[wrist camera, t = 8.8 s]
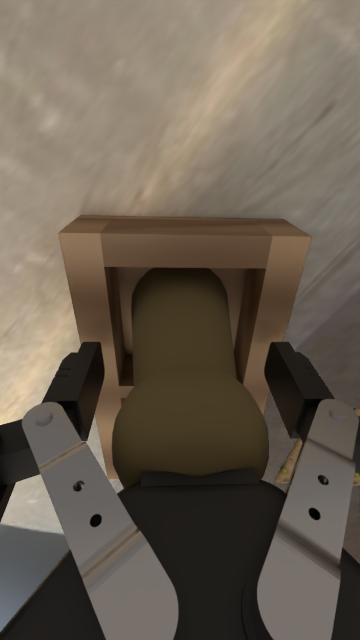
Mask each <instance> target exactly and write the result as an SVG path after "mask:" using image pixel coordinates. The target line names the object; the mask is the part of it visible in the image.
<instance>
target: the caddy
mask: <svg viewBox="0 0 360 640" xmlns="http://www.w3.org/2000/svg"><path fill="white" fill-rule="evenodd" d="M58 235H59V239H60V244H61V249H62V254H63V259H64V264H65V269H66V274H67V279H68V284H69V289H70V294H71V299H72V304H73V309H74V313H75V318H76V323H77V328H78V333H79V338H80V343H81V344H82V343H83V342H100V343H101V347H102V354H103V360H104V367H105V376H104V381H103V385H102V389H101V392H100V396H99V400H98V403H97V407H96V411H95V417H96V422H97V427H98V432H99V437H100V442H101V447H102V452H103V457H104V461H105V466H106V471H107V476H108V479H119V477H118V475H117V473H116V471H115V469H114V466H113V461H112V432H113V427H114V423H115V418H116V416H117V414H118V412H119V410H120V408H121V406H122V405H123V403H124V401H125V399H126V398H127V396H128V394H129V392H130V390H132V389H133V388H134V375H133V347H132V319H131V302H132V293H133V291H134V289H135V287H136V285H137V282H138V281H139V280H140V279H141V278H142V277H143V276H144V275H145V274H146V273H147V272H148V271H149V270H150V269H152V268H154V267H167V268H209V269H211V270H212V271H213V272H214V273H215V274H216V275H217V276H218V277H219V278H220V279H221V281H222V283H223V285H224V287H225V289H226V291H227V297H228V306H229V315H230V324H231V332H232V341H233V350H234V359H235V368H236V377H237V380H238V381H239V382H240V383H241V384H243V385H244V386H245V387H246V388H247V389H248V391H249V392H250V393H251V395H252V396H253V398H254V399H255V401H256V403H257V405H258V406H259V408H260V410H261V412H262V414H264V410H265V406H266V403H267V399H268V395H269V392H270V389H269V386H268V384H267V382H266V379H265V375H264V367H265V362H266V358H267V354H268V350H269V346H270V343H271V342H283V340H284V337H285V333H286V329H287V326H288V322H289V318H290V315H291V311H292V307H293V304H294V300H295V296H296V293H297V289H298V285H299V282H300V278H301V274H302V271H303V267H304V263H305V260H306V256H307V252H308V249H309V245H310V241H311V236H310V235H308V234H306V233H305V232H303V231H302V230H300V229H298V228H297V227H295V226H294V225H292V224H290V223H289V222H287V221H286V220H284V219H238V218H183V217H129V216H79V217H78V218H77V219H75V220H74V221H73V222H71V223H70V224H69V225H68V226H66V227H65V228H64V229H62V230H61V231H60V232H59V233H58Z"/></svg>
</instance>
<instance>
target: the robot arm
mask: <svg viewBox="0 0 360 640" xmlns="http://www.w3.org/2000/svg"><path fill="white" fill-rule="evenodd" d="M264 375H265V379H266V382H267V384H268V386H269V389H270V391H271V393H272V396H273V398H274V401H275V403H276V405H277V408H278V410H279V412H280V415H281V417H282V420H283V422H284V424H285V427H286V429H287V431H288V434H289V436H290V438H301V441H302V443H303V444H302V446H301V449H300V451H299V454H298V457H297V460H296V462H295V465H294V468H293V471H292V473H291V476H290V479H289V482H288V484H287V487H286V489H285V492H284V491H282V490H281V489H279V488H278V487H276V486H274V485H272V484H270V483H268V482H266V481H263V480H260V479H258V478H257V474H256V471H255V469H251V470H226V471H223V472H220V473H216V474H213V475H210V476H206V477H203V478H195V477H191V476H187V475H183V474H179V473H175V472H166V471H163V472H142V473H141V481H140V482H137V483H134V484H132V485H130V486H128V487H126V488H124V489H123V490H121V491H120V492H119V493H117V494H116V492H115V490H114V488H113V487H112V485H111V483H110V482H109V480H108V478H107V477H106V475H105V473H104V471H103V470H102V468H101V466H100V465H99V463H98V461H97V460H96V458H95V456H94V455H93V453H92V451H91V449H90V448H89V446H88V445H87V443H86V442H82V441H87V440H88V436H89V432H90V429H91V425H92V421H93V418H94V414H95V411H96V407H97V403H98V400H99V396H100V392H101V389H102V385H103V381H104V376H105V367H104V360H103V354H102V347H101V343H100V342H83V343H82V344H81V347H80V349H79V351H78V353H70V354H69V355H68V356H67V357H66V358H64V359H63V360H62V363H61V365H60V367H59V370H58V371H57V373H56V375H55V377H54V379H53V381H52V383H51V385H50V387H49V389H48V391H47V393H46V395H45V397H44V399H43V401H42V403H41V404H39V405H37V406H35V407H33V408H32V409H30V410H29V411H28V412H27V413H26V414H25V416H24V418H23V419H21V420H18V421H14V422H11V423H7V424H3V425H0V522H1V519H2V517H3V514H4V512H5V509H6V506H7V504H8V501H9V499H10V496H11V494H12V491H13V489H14V486H15V484H16V482H18V481H21V480H24V479H27V478H30V477H33V476H36V475H39V474H41V476H42V479H43V481H44V484H45V486H46V489H47V491H48V494H49V496H50V499H51V501H52V504H53V506H54V509H55V511H56V514H57V516H58V519H59V521H60V524H61V526H62V529H63V531H64V534H65V536H66V539H67V542H68V544H69V547H70V549H69V550H68V551H67V552H66V554H65V555H64V556H63V557H62V558H61V560H60V561H59V562H58V563H57V564H56V566H55V567H54V568H53V569H52V570H51V572H50V573H49V574H48V575H47V576H46V578H45V579H44V580H43V581H42V583H41V584H40V585H39V586H38V587H37V589H36V590H35V591H34V592H33V593H32V595H31V596H30V597H29V598H28V599H27V601H26V602H25V603H24V604H23V605H22V607H21V608H20V609H19V611H18V612H17V613H16V614H15V615H14V617H13V618H12V619H11V620H10V621H9V622H8V624H7V625H6V626H5V627H4V628H3V630H2V631H1V632H0V640H360V564H359V563H358V562H357V561H356V560H355V559H354V558H353V557H352V556H351V555H350V554H349V553H348V552H347V551H346V550H345V549H344V548H343V547H342V546H343V540H344V534H345V528H346V522H347V515H348V509H349V503H350V497H351V491H352V485H353V479H354V473H359V475H360V416H358V415H357V414H356V412H355V411H354V410H353V409H352V408H351V407H350V406H349V405H347V404H345V403H343V402H341V401H339V400H335V398H334V397H333V395H332V394H331V392H330V391H329V389H328V388H327V386H326V385H325V383H324V382H323V380H322V379H321V377H320V376H319V375H318V373H317V371H316V370H315V369H314V367H313V365H312V364H311V362H310V361H309V359H308V358H306V357H305V356H304V355H302V354H301V353H300V352H295V351H294V349H293V348H292V346H291V345H290V343H289V342H271V343H270V346H269V350H268V354H267V358H266V362H265V367H264Z"/></svg>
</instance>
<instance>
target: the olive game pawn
mask: <svg viewBox="0 0 360 640" xmlns="http://www.w3.org/2000/svg"><path fill="white" fill-rule="evenodd" d="M131 319H132V347H133V375H134V388H133V389H132V390H130V392H129V394H128V396H127V398H126V399H125V401H124V403H123V405H122V406H121V408H120V410H119V412H118V414H117V416H116V418H115V423H114V427H113V432H112V461H113V466H114V469H115V471H116V473H117V475H118V477H119V480H120V482H121V483H122V485H123V487H124V488H126V487H128V486H130V485H132V484H134V483H137V482H140V481H141V473H142V472H163V471H166V472H175V473H179V474H183V475H187V476H191V477H195V478H203V477H206V476H210V475H213V474H216V473H220V472H223V471H226V470H251V469H255V471H256V474H257V478H258V479H260V480H261V479H262V477H263V475H264V473H265V470H266V466H267V463H268V459H269V440H268V428H267V425H266V422H265V420H264V417H263V414H262V412H261V410H260V408H259V406H258V405H257V403H256V401H255V399H254V398H253V396H252V395H251V393H250V392H249V391H248V389H247V388H246V387H245V386H244V385H243V384H241V383H240V382H239V381H238V380H237V377H236V368H235V359H234V350H233V341H232V332H231V324H230V315H229V306H228V297H227V291H226V289H225V287H224V285H223V283H222V281H221V279H220V278H219V277H218V276H217V275H216V274H215V273H214V272H213V271H212V270H211V269H209V268H167V267H154V268H152V269H150V270H149V271H148V272H147V273H146V274H145V275H144V276H143V277H142V278H141V279H140V280H139V281H138V282H137V285H136V287H135V289H134V291H133V293H132V302H131Z"/></svg>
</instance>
